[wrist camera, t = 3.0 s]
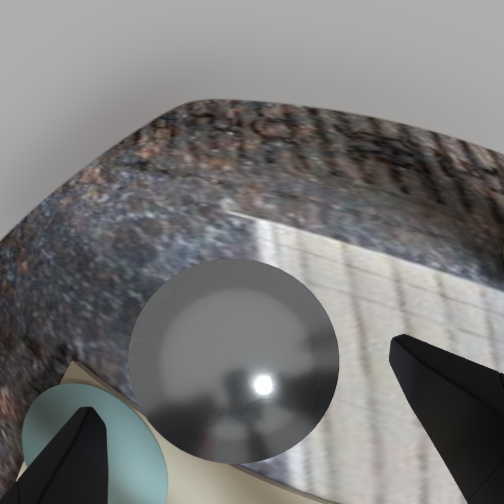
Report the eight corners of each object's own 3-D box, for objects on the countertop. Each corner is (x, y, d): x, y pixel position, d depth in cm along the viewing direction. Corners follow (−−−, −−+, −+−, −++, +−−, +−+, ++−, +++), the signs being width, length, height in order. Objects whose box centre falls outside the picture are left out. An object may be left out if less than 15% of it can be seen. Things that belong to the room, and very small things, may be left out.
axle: (263, 428, 16) (275, 496, 5) (187, 387, 17) (94, 390, 6) (304, 354, 17) (371, 313, 7) (229, 315, 18) (194, 226, 8)
